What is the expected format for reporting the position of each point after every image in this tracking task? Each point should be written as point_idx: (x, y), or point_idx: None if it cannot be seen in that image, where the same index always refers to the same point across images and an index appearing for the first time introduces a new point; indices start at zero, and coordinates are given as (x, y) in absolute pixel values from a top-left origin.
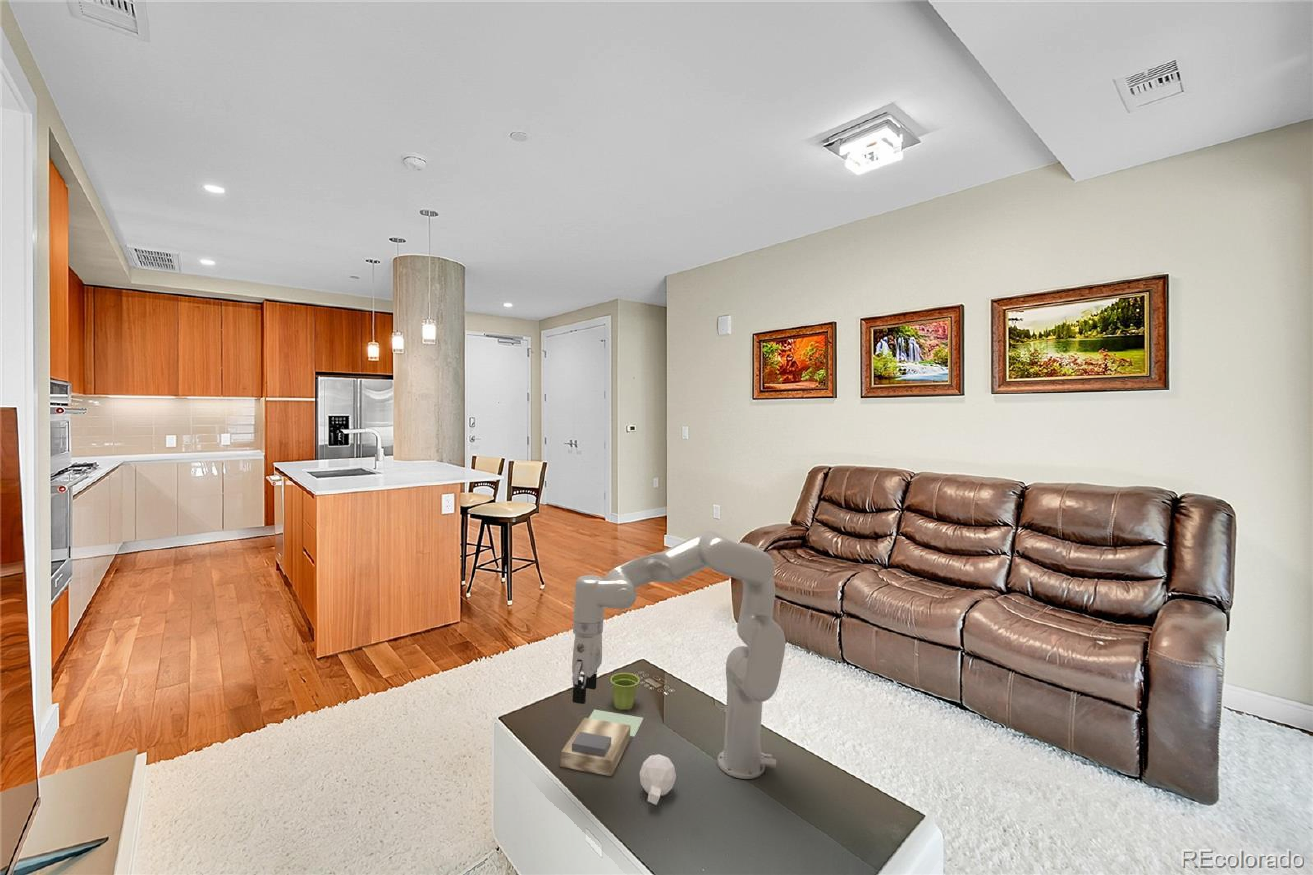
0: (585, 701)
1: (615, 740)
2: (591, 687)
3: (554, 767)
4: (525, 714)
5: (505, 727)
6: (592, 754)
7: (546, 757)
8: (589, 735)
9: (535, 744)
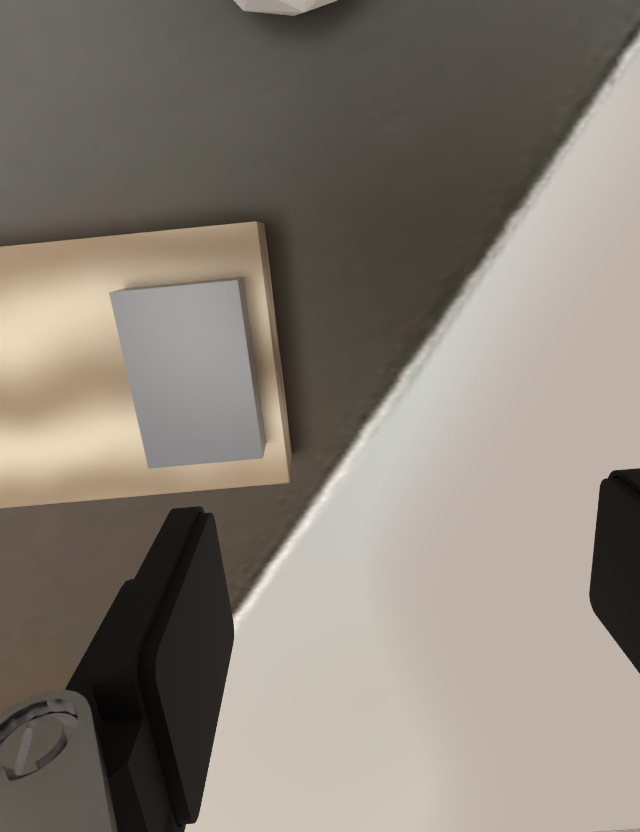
0: (624, 475)
1: (77, 280)
2: (214, 561)
3: (306, 471)
4: None
5: None
6: (251, 340)
7: (261, 526)
8: (155, 410)
9: None
